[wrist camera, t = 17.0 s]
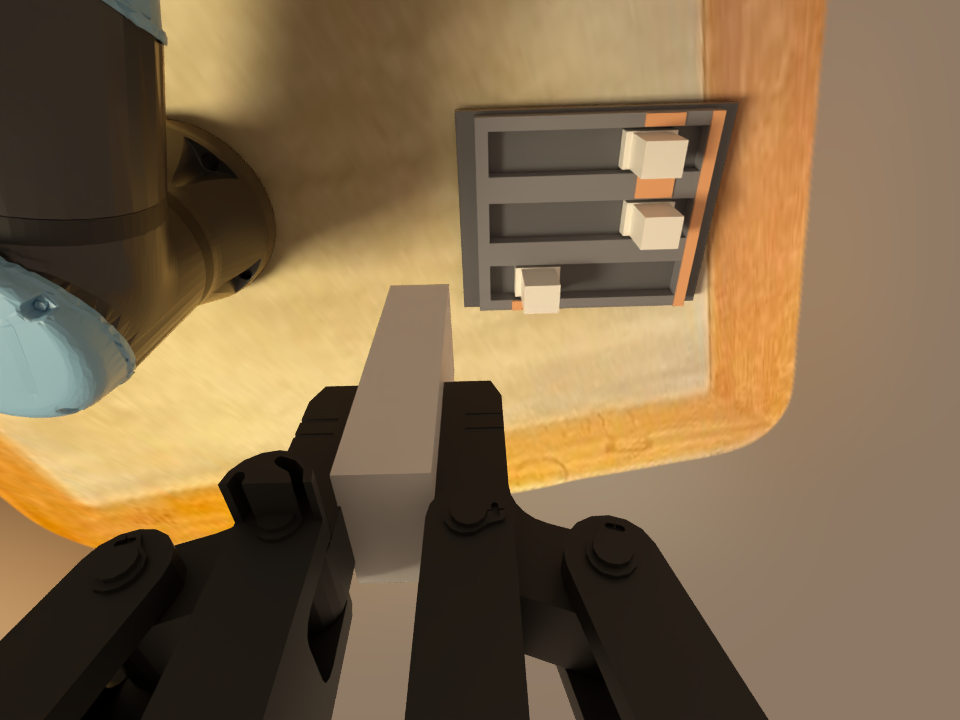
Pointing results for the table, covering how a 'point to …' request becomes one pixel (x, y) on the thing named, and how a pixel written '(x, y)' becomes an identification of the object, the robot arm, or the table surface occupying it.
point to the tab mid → (652, 223)
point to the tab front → (653, 152)
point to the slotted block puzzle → (581, 201)
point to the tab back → (538, 288)
